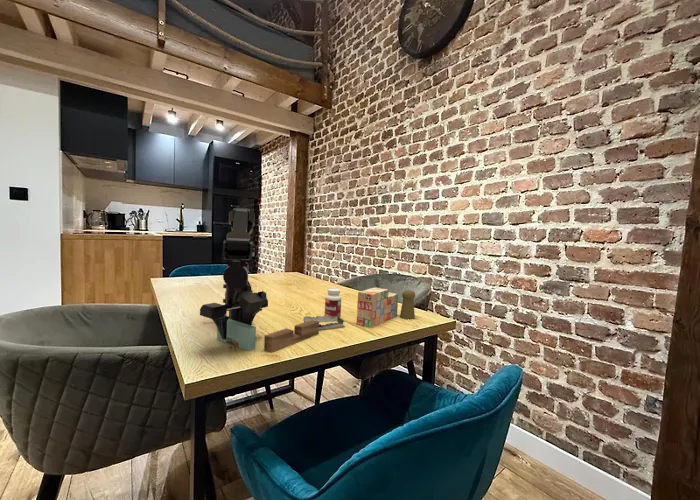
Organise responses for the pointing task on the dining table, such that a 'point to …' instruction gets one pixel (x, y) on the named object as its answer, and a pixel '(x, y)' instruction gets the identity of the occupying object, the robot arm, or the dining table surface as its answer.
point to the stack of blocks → (376, 306)
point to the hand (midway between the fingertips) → (235, 335)
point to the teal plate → (240, 334)
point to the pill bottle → (333, 303)
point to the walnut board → (290, 336)
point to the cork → (408, 305)
